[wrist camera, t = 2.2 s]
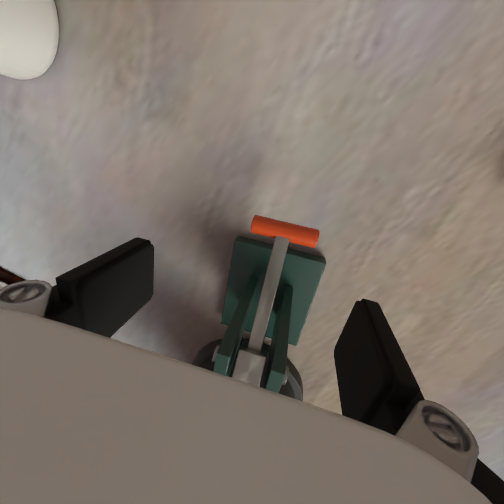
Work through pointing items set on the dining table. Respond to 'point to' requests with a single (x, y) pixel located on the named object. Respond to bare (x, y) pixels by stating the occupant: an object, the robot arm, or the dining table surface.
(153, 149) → the dining table surface
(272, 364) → the switch bracket
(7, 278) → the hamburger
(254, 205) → the dining table surface
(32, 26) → the coffeepot
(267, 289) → the switch lever
